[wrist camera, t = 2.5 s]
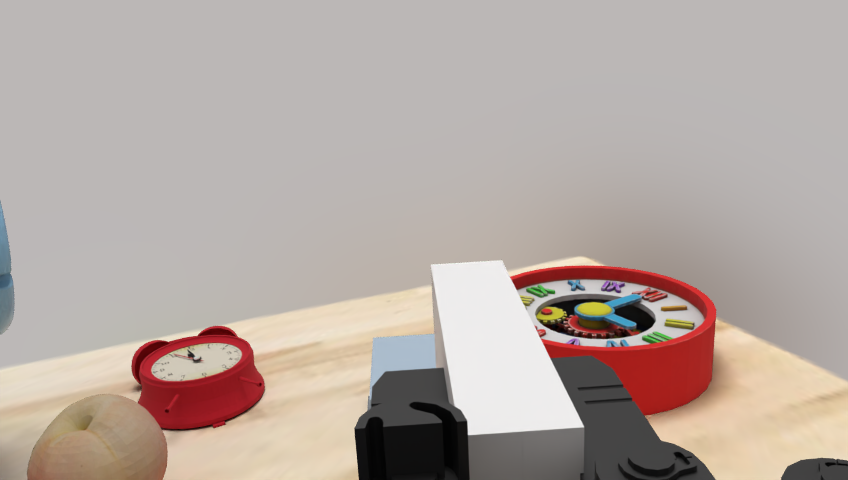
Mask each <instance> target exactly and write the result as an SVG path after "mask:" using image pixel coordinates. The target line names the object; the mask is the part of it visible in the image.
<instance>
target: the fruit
mask: <svg viewBox="0 0 848 480" xmlns="http://www.w3.org/2000/svg"><path fill="white" fill-rule="evenodd" d="M166 467H167V443H166V439H165V436H164V434H163V432H162V430H161V428H160V426H159V424H158V423H157V421H156V420H155V419H154V417H153V416H152V415H151V414H150V413H149V412H148V411H147V410H146V409H145V408H144V407H143V406H141V405H140V404H138V403H136V402H135V401H133V400H130V399H128V398H126V397H123V396H119V395H112V394H100V395H94V396H91V397H87V398H84V399H82V400H79V401H77V402H75V403H73V404H71V405H70V406H68V407H67V408H66V409H64V410H63V411H62V412H61V413H60V414H59V415H58V416H57V417H56V418H55V419H54V420H53V421H52V423H51V424H50V425H49V426H48V428H47V429H46V430H45V432H44V433H43V434H42V436H41V437H40V439H39V440H38V441H37V443H36V445H35V446H34V448H33V451H32V454H31V457H30V461H29V465H28V470H27V480H162V479H163V477H164V474H165V471H166Z"/></svg>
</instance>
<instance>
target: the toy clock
mask: <svg viewBox="0 0 848 480" xmlns="http://www.w3.org/2000/svg"><path fill="white" fill-rule="evenodd" d="M510 278H511V280H512V282H513V284H514V286H515V288H516V290H517V292H518V294H519V296H520V298H521V300H522V302H523V304H524V306H525V308H526V310H527V312H528V314H529V316H530V318H531V320H532V322H533V324H534V326H535V328H536V330H537V333H538V335H539V337H540V339H541V341H542V343H543V345H544V347H545V349H546V351H547V353H548V355H549V357H550V358H560V357H575V356H590V355H591V356H593V357H595V358H596V359H598V360H600V361H601V362H603V363H605V364H606V365H608V366H609V367H611V368H613V370H614V371H615V373H616V374H617V376H618V377H619V379H620V380H621V382H622V383H623V387H624V388H626V389H627V391H628V392H629V394H630V395H631V397H632V401H635V403H636V404H637V406H638V407H639V409H640V410H641V412H642V413H643V415H651V414H655V413H660V412H664V411H669V410H672V409H674V408H677V407H680V406H682V405H685V404H687V403H689V402H690V401H692V400H694V399H696V398H697V397H699V396H700V395H701V394H702V393H703V392H704V391H705V390H706V389H707V387H708V385H709V383H710V381H711V379H712V365H713V350H714V336H715V321H716V309H715V306H714V304H713V302H712V301H711V300H710V299H709V298H708V297H707V296H706V295H705V294H704V293H702V292H701V291H699V290H698V289H697V288H694V287H692V286H690V285H688V284H686V283H684V282H681V281H678V280H676V279H673V278H671V277H667V276H663V275H659V274H656V273H651V272H646V271H641V270H635V269H628V268H621V267H609V266H564V267H553V268H546V269H539V270H534V271H529V272H525V273H521V274H518V275H515V276H512V277H510Z"/></svg>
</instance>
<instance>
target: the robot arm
mask: <svg viewBox="0 0 848 480" xmlns="http://www.w3.org/2000/svg"><path fill="white" fill-rule="evenodd" d="M10 273H11V257H10V249H9V242H8V236H7V230H6V225H5V220H4V215H3V210H2V206H1V202H0V335H1V334H3V333H4V332H5V331H6V330H7V328H8V327H9V326H10V324H11V322H12V319H13V315H14V287H13V280H12V276H11V274H10ZM431 277H432V278H431V279H432V299H433V318H434V337H435V357H436V368H429V369H414V370H399V371H385V372H384V373H383V375H382V376H381V377H380V378H379V379H378V380H377V382H376V383H375V384H374V385H373V386H372V396H371V409H369V410H368V411H367V412H366V413H364V414H363V415H362V416H361V417H360V418H359V420H358V422H357V424H356V426H355V440H356V452H357V463H358V474H359V480H715V478H714V477H713V475H712V474H711V473H710V471H709V470H708V469H707V467H706V466H705V464H704V463H702V462H701V461H700V460H699V459H698V458H697V457H696V456H695V455H694V454H693V453H691V452H689V451H687V450H685V449H683V448H681V447H679V446H677V445H675V444H672V443H668V442H664V441H661V440H660V439H659V437H658V436H657V434H656V433H655V431H654V430H653V428H652V427H651V425H650V424H649V422H648V421H647V419H646V418H645V416H644V415H643V413H642V412H641V410H640V409H639V407H638V406H637V404H636V403H635V401H632V397H631V395H630V394H629V392H628V391H627V389H626V388H624V387H623V383H622V382H621V380H620V379H619V377H618V376H617V374H616V373H615V371H614V370H613V368H611V367H609V366H608V365H606V364H605V363H603V362H601V361H600V360H598V359H596V358H595V357H593V356H591V355H590V356H575V357H560V358H550V357H549V355H548V353H547V351H546V349H545V347H544V345H543V343H542V341H541V339H540V337H539V335H538V333H537V330H536V328H535V326H534V324H533V322H532V320H531V318H530V316H529V314H528V312H527V310H526V308H525V306H524V304H523V302H522V300H521V298H520V296H519V294H518V292H517V290H516V288H515V286H514V284H513V282H512V280H511V278H510V276H509V274H508V272H507V270H506V268H505V266H504V264H503V262H502V260H498V261H482V262H466V263H450V264H434V265H431ZM781 480H848V461H846V460H840V459H837V460H835V459H830V458H817V459H806V460H800V461H798V462H796V463H794V464H792V465H790V466H788V467H787V468H786V470H785V472H784V474H783V476H782V477H781Z"/></svg>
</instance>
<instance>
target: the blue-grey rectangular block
mask: <svg viewBox="0 0 848 480" xmlns="http://www.w3.org/2000/svg"><path fill="white" fill-rule="evenodd" d="M429 368H436V357H435V337H434V334H426V335H410V336H394V337H378V338H373V351H372V367H371V382H370V398H369V401H370V409H371V396H372V386H373V385H374V384H375V383H376V382H377V380H378V379H379V378H380V377H381V376H382V375H383V373H384V372H385V371H399V370H414V369H429Z"/></svg>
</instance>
